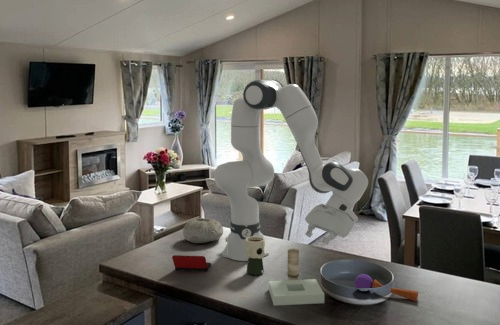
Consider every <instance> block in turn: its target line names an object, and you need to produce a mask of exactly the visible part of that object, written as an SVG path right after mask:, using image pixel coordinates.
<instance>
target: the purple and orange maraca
mask: <svg viewBox="0 0 500 325" xmlns="http://www.w3.org/2000/svg"><path fill="white" fill-rule="evenodd" d="M380 286H384V285H383V284H382V283H380V282H379V281H378V280H376V279H374V280H373V279H372V277H371V276H370V275H368V274H365V273H361V274H359V275H357V276H356V277H355V279H354V287H355V289H357V288H375V287H380ZM390 288H391V291H390V292H389V293H391V294H394V295H396V296H400V297H401V298H405V299H407V300H410V301H413V302H415V303H416V302H417V301H418V296H419V291H417V290H411V289H402V288H396V287H390Z"/></svg>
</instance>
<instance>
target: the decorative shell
mask: <svg viewBox="0 0 500 325" xmlns="http://www.w3.org/2000/svg"><path fill="white" fill-rule="evenodd" d="M182 234H183V237H184V239H185V240H187V241H188V242H191V243H196V244H205V243H209V242H214V241H217V240H219V239H220V238H221V237H222V236H223V234H224V229H223V226H222V224H221V222H220V221H218V220H216V219H213V218H204V217H196V218H193V219H190V220H189V221H187V222H186V223H185V224H184V226H183V229H182Z"/></svg>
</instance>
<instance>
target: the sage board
mask: <svg viewBox="0 0 500 325" xmlns="http://www.w3.org/2000/svg"><path fill="white" fill-rule="evenodd" d="M268 291H269V295H270V298H271V301H272V305H273V306H274V307H275V306H276V307H277V306H292V305H311V304H312V305H313V304H325V293H324V291H323V289H322V288H321V286H320V285H319V283H318V280H317V279H316V278H310V279H298V280H288V279H287V280H268Z"/></svg>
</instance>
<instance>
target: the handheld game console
mask: <svg viewBox="0 0 500 325" xmlns="http://www.w3.org/2000/svg"><path fill="white" fill-rule="evenodd" d="M171 258H172V262H173V266H174V271H177V272H179V271H180V272H181V271H183V272H188V271H189V272H191V271H193V272H200V273H201V272H203V273H204V272H205V273H207V272H208V271H209V269H210V268H211V267H212V263H211V262H207V259H206V257H205V256H203V255H179V254H177V255H172V257H171Z"/></svg>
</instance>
